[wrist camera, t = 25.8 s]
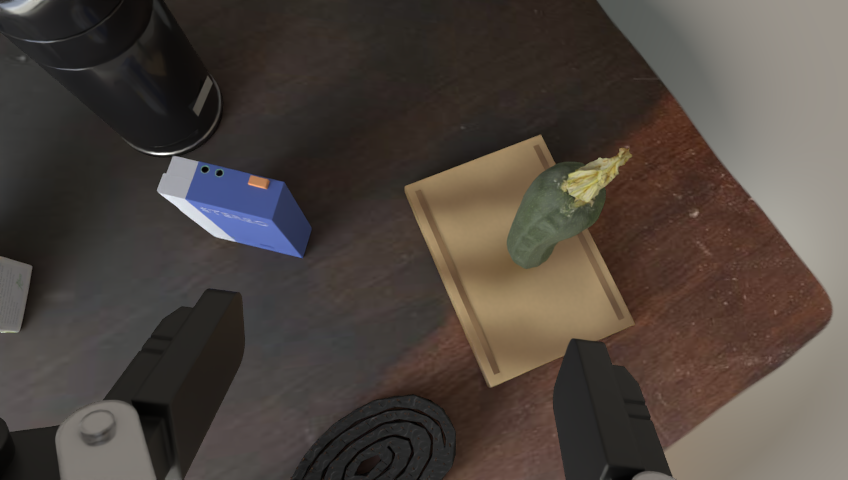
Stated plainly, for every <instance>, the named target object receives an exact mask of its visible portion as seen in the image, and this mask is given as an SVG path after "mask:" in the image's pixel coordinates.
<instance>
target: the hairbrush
mask: <svg viewBox="0 0 848 480" xmlns="http://www.w3.org/2000/svg"><path fill="white" fill-rule="evenodd" d="M392 407H403V408H411V409H396V410H388V411H385V412H382V413H380V414H377V415H374V416H372V417H369V418H367V419H365V420H363V421H362V422H360V423H358V424H357V425H355V426H353V427H351V428H350V429H348V430H346V431H345V432H343V433H342V434H341V435H340V436H339V437H338V438H337V439H336V440H335V441H334V442H333V443H332V444H331V445H330V446H329V447H328V448H327V449H326V450H325V451H324V452H323V453H322V454H321V455H320V456H319V457H318V458H317V460H316V461H315V463H314V465H313V466H312V468H311V469H310V471H309V473H308V474H307V476H306V478H305V479H304V480H321V479H322V477H323V474H324V472H325V471H326V469H327V467H328V466H329V468H328V470H327V472H326V475H325V478H324V480H372V479H374V478H376V477H377V476H378V475H379V474H380V473H381V472H382V471H383V470H384V469H385V468H386V467H387V466H388V465H389V464H390V463H391V461H392V458H393V452H392V450H393V451H394V453H395V454H396V455H395V458H394V460H393V462H392V463H391V465H390V466H389V467H388V469H387V470H386V471H385V473H383V474H382V475H380V476H379V477H377V478H376V479H374V480H393V479H394V478H395V477H396V476H397V475H398V474H399V473H400V472H401V471H402V470H403V469H404V467H405V466H406V464H407V462H408V460H409V456H410V454H411V451H412V447H411V444H410V442H409V440H408V439H407V438H410V440H411V443H412V446H413V449H414V452H413V454H412V457H411V459H410V461H409V463H408V464H407V466H406V468H405V469H404V471H403V473H402V474H401V475H400V476H399V477H398V478H397V479H395V480H416V479H417V477H418V475H419V474H420V472H421V470H422V469H423V467H424V465H425V463H426V462H427V460H428V458H429V455H430V449H431V438H430V435H429V434H428V432H427V429H428V431H429V432H430V433H431V434H432V435H433V452H432V454H431V457H430V459H429V461H428V464H427V466H426V469H425V470H424V472H423V473H422V474H421V475H420V476H419V478H418V479H417V480H442V479H443V477H444V476H445V475H446V473H447V472H448V471H449V470H450V468H451V467H452V465H453V461H454V458H455V455H456V431H455V429H454V427H453V425H452V423H451V421H450V419H449V417H448V416H447V415H446V413H445V411H444V409H443V408H441V407H440V406H438V405H437V404H435V403H434V402H432V401H431V400H428V399H426V398H423V397H420V396H417V395H414V394H412V395H405V396H393V397H389V398H384V399H378V400H374V401H372V402H370V403H368V404H366V405H364V406H362V407H360V408H358V409H356V410H355V411H353V412H352V413H350V414H349V415H347V416H346V417H344V418H342V419H341V420H339V421H338V422H336V423H335V424H333V425H332V426H331V427H330V428H329V429H328V430H327V431H326V432H325V433H324V434H323V435H322V436H321V437H320V438H319V439H318V440H317V442H316V443H315V444H314V445H313V446H312V447H311V448H310V449H309V451H308V452H307V453H306V454H305V455H304V457H303V459H302V461H301V462H300V464H299V466H298V467H297V468H296V471H295V473H294V474H293V476H292V477H291V480H303V478H304V476H305V475H306V473H307V471H308V469H309V467H310V465H311V463H312V462H313V461H314V459H315V458H316V457H317V455H318V454H319V453H320V451H321V450H322V449H323V448H324V447H325V446H326V445H327V444H328V443H329V442H330V441H331V440H332V439H333V438H334V437H336V436H337V435H338V434H340V433H341V432H342V431H344V430H345V429H346V428H348V427H349V426H350V425H352V424H353V423H354V422H356V421H358V420H360V419H362V418H365V417H368V416H370V415H373V414H376V413H378V412H381V411H384V410H387V409H389V408H392ZM412 409H417V410H421V411H423V412H424V413H426V414H428V415H429V416H427V415H425V414H422V413H419V412H417V411H414V410H412ZM430 416H431V417H433V418H434V419H436V420H437V421H438V422H440V424H441V426H442V429H443V431H444V435H445V439H446V444H445V446H444V441H443V434H442V429H441V428H440V427H439V425H438V424H437V423H436V422H435V421H434V420H433V419H432V418H431V417H430ZM396 419H403V420H409V421H394V422H390V423H386V424H382V425H380V426H378V427H377V428H375V429H374V430H372V431H370V432H369V433H367V434H366V435H364V436H362V437H361V438H359V439H357V440H356V441H354V442H353V443H352V444H351V445H350V446H348V447H347V448H346V449H345V450H344V451H343V452H342V453H341V454H340V455H339V456H338V457H337V458H336V459H335V460H333V458H334V457H335V456H336V455H337V454H338V453H339V452H340V451H341V449H342V448H343V447H344V446H346V445H347V444H349V443H350V442H351V441H353V440H354V439H356V438H357V437H359V436H360V435H362V434H363V433H365V432H367V431H368V430H370V429H371V428H373V427H374V426H376V425H378V424H380V423H383V422H387V421H391V420H396ZM411 421H415V422H411ZM416 422H420V423H422V424H423V425H424V426H425V427H426V428H427V429H426V428H424V427H423V426H421V425H419V424H417V423H416ZM393 434H397V435H400V436H397V435H396V436H392V437H387V438H383V439H381V440H379V441H377V442H375V443H374V444H372V445H370V446H368V447H367V448H366V449H364V450H363V451H362V452H361V453H360V454H359V455H358V456H357V457H355V458H354V459H353V460H352V461H351V462H350V464H349V466H348V468H347V470H346V467H347V464H348V462H349V461H350V459H351V458H352V457H353V456H354V455H355V454H356V453H357V452H358V451H359V450H361V449H362V448H364V447H365V446H367V445H369V444H370V443H372V442H374V441H375V440H377V439H379V438H382V437H386V436H389V435H393ZM401 436H404V437H407V438H404V437H401ZM389 446H390V447H391V448H392V449H391V448H390V447H389ZM375 455H379V457H380V458H381V460H380V462H379V463H378V464H377V465H376V466H375V467H374V468H373V469H372V470H371V471H370V472H368V473H364V474H360V475H358V474H357V471H356V470H357V468H358V466H359V465H360V464H361V463H362V462H363V461H364V460H366V459H368V458H371V457H373V456H375ZM332 460H333V461H332ZM331 461H332V462H331ZM330 462H331V464H330ZM329 464H330V465H329ZM345 470H346V472H345ZM344 472H345V476H344Z"/></svg>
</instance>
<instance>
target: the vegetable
mask: <svg viewBox="0 0 848 480" xmlns="http://www.w3.org/2000/svg"><path fill="white" fill-rule="evenodd" d="M619 151H620V152H619V153H618V154H617V156H614V157H612V158H610V159H608V158H604V159H602V158H598V160H595V161H594V162H590V163H588V164H587V165H584V164H583V163H579V162H561V163H558V164H556V165H554V166H552V167H550V168H548V169H547V170H545V171H544V172H542V173H541V174H539V175H538V177H537V178H536V179H535V180H534V181H533V182H532V184H531V185H530V187H529V188H528V189H527V191H526V193H525V194H524V196H523V199H522V201H521V204H520V206H519V208H518V210H517V213H516V215H515V218H514V220H513V223H512V225H511V228H510V231H509V234H508V237H507V249H508V252H509V254H510V256H511V258H512V260H513V261H514V263H516V264H517V265H519V266H521V267H522V268H524V269H529V268H533V267H538V266H540V265H541V264H542V263H543V262H545V261H547V259H548V258H549V257H550V255H551V254H552V252H553V250H554V247H555V246H556V244H557V243H558V242H559V241H562V240H565V239H568V238H571V237H573V236H575V235H577V234H579V233H580V232H582V231H583V230H585V229H587V228H588V227H590V226H592V225H593V224H594V223H595V222H596V221H597V219H598V218H599V215H600V213H601V211H602V208H603V206H604V202H605V196H606V190H605V186H606V185H607V184H608V183H609V182H611V181H612V180H613V178H615V176H616V175H617V174H619V173H618V167H619V166H621V165H624V164H625V163H626V162H627V161H628V159H629V158H631V157H632V155H631V154H630V153H629V148H628V149H626V148H621V149H619Z"/></svg>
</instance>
